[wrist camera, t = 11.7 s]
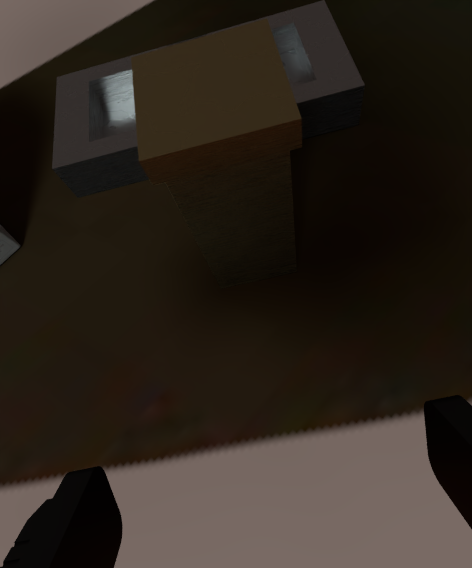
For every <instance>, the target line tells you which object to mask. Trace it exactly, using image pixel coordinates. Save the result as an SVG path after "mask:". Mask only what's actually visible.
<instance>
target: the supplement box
mask: <svg viewBox="0 0 472 568" xmlns="http://www.w3.org/2000/svg"><path fill="white" fill-rule="evenodd" d="M19 248H20V244H19V243H18V242H17V241H16V240H15V239H14V238H13V237H12V236H11V235H10V234H9V233H8V232H7V231H6V230H5V229H4V228H3V227H2V226H1V224H0V265H1V264H2V263H3V262H4V261H5V260H6V259H8V258H9V257H10V256H11V255H12V254H13V253H14V252H15V251H16V250H17V249H19Z"/></svg>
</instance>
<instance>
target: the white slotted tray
mask: <svg viewBox="0 0 472 568" xmlns="http://www.w3.org/2000/svg"><path fill="white" fill-rule="evenodd" d="M266 18H267V20H268V23H269V26H270V28H271V31H272V34H273V37H274V40H275V43H276V46H277V49H278V52H279V55H280V57H281V60H282V63H283V66H284V69H285V72H286V75H287V78H288V81H289V84H290V86H291V89H292V92H293V95H294V98H295V101H296V104H297V107H298V110H299V112H300V115H301V118H302V139H305V138H309V137H313V136H316V135H320V134H324V133H328V132H332V131H336V130H340V129H343V128H347V127H351V126H355V125H359V119H360V113H361V106H362V100H363V93H364V87H365V85H364V82H363V80H362V78H361V76H360V74H359V72H358V70H357V68H356V66H355V64H354V61H353V59H352V57H351V55H350V53H349V51H348V49H347V47H346V45H345V43H344V41H343V38H342V36H341V34H340V32H339V30H338V28H337V26H336V24H335V22H334V20H333V17H332V15H331V13H330V11H329V9H328V7H327V5H326V3H325V1H324V0H322V1H319V2H316V3H312V4H309V5H305V6H302V7H298V8H295V9H291V10H288V11H284V12H281V13H278V14H274V15H271V16H267V17H264V18H260V19H257V20H253V21H250V22H246V23H243V24H240V25H236V26H233V27H229V28H226V29H222V30H219V31H215V32H212V33H208V34H205V35H201V36H198V37H195V38H191V39H188V40H184V41H181V42H177V43H174V44H170V45H167V46H163V47H160V48H157V49H153V50H150V51H146V52H143V53H139V54H136V55H132V56H129V57H125V58H122V59H118V60H115V61H112V62H108V63H105V64H101V65H98V66H94V67H91V68H87V69H84V70H80V71H77V72H74V73H70V74H67V75H63V76H60V77H57V88H56V107H55V126H54V145H53V163H52V169H53V170H54V172H55V173H56V174H57V175H58V176H59V177H60V178H61V179H62V181H63V182H64V183H65V184H66V185H67V186H68V187H69V188H70V189H71V191H72V192H73V193H74V194H75V195H76V196H77V197H82V196H86V195H90V194H93V193H97V192H101V191H105V190H109V189H113V188H117V187H120V186H124V185H128V184H132V183H136V182H140V181H143V180H147V179H149V178H148V176H147V175H146V173H145V171H144V169H143V168H142V166H141V164H140V162H139V157H138V144H137V131H136V117H135V104H134V91H133V77H132V64H131V57H134V56H138V55H141V54H144V53H148V52H151V51H155V50H158V49H162V48H165V47H169V46H172V45H176V44H179V43H183V42H186V41H190V40H193V39H197V38H200V37H204V36H207V35H211V34H214V33H218V32H221V31H225V30H228V29H232V28H235V27H239V26H242V25H245V24H249V23H252V22H256V21H259V20H263V19H266Z"/></svg>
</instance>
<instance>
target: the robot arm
mask: <svg viewBox="0 0 472 568" xmlns="http://www.w3.org/2000/svg"><path fill="white" fill-rule="evenodd" d="M424 416H425V426H426V438H427V449H428V457H429V461H430V464H431V467H432V470H433V472H434V474H435V476H436V478H437V480H438V481H439V483H440V485H441V486H442V487H443V489H444V490H445V492H446V493H447V494H448V496H449V498H450V499H451V500H452V502H453V503H454V505H455V506H456V507H457V509H458V510H459V512H460V513H461V515H462V516H463V517H464V519H465V520H466V522H467V523H468V524H469V526H470V527H471V529H472V406H471V405H470V404H469V403H468V402H467V401H466V400H465V399H464V398H463V397H461V396H459V395H455V396H450V397H445V398H440V399H435V400H430V401H426V402H425V404H424ZM121 539H122V519H121V515H120V511H119V508H118V506H117V503H116V501H115V498H114V495H113V492H112V490H111V487H110V484H109V482H108V479H107V476H106V474H105V471H104V470H103V468H102V467H100V466H97V467H92V468H87V469H82V470H77V471H72V472H69V473H67V474H66V475H65V477H64V478H63V480H62V482H61V484H60V486H59V488H58V490H57V491H56V493H55V495H54V497H53V498H52V499H47V500H46V501H45V502H44V503H43V504H42V505H41V506H40V507H39V508H38V509H37V511H36V512H35V513H34V514H33V515H32V516H31V517H30V518H29V519H28V520H27V522H26V524H25V525H24V527H23V529H22V530H21V532H20V534H19V536H18V538H17V539H16V541H15V545H14V547H12V548H11V549H10V551H9V553H8V555H7V556H6V558H5V560H4V562H3V567H0V568H114V565H115V562H116V558H117V555H118V551H119V548H120V544H121Z"/></svg>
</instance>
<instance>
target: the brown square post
mask: <svg viewBox="0 0 472 568" xmlns="http://www.w3.org/2000/svg"><path fill="white" fill-rule="evenodd" d="M131 64H132V77H133V91H134V104H135V117H136V131H137V144H138V157H139V162H140V164H141V166H142V168H143V169H144V171H145V173H146V175H147V176H148V178H149V180H150V182H151V183H152V185H157V184H161V183H166V185H167V186H168V188H169V190H170V192H171V194H172V196H173V198H174V200H175V202H176V204H177V206H178V208H179V209H180V211H181V213H182V215H183V217H184V219H185V221H186V223H187V225H188V227H189V229H190V231H191V232H192V234H193V236H194V238H195V240H196V242H197V244H198V246H199V248H200V250H201V252H202V254H203V255H204V257H205V259H206V261H207V263H208V265H209V267H210V269H211V271H212V273H213V275H214V277H215V279H216V280H217V282H218V284H219V286H220V288H221V289H223V288H227V287H232V286H236V285H240V284H245V283H249V282H253V281H258V280H262V279H266V278H271V277H275V276H280V275H284V274H288V273H293V272H297V264H296V247H295V230H294V213H293V196H292V179H291V162H290V150H293V149H297V148H301V147H302V118H301V115H300V112H299V110H298V107H297V104H296V101H295V98H294V95H293V92H292V89H291V86H290V84H289V81H288V78H287V75H286V72H285V69H284V66H283V63H282V60H281V57H280V55H279V52H278V49H277V46H276V43H275V40H274V37H273V34H272V31H271V28H270V26H269V23H268V20H267V18H266V19H263V20H259V21H256V22H252V23H249V24H245V25H242V26H239V27H235V28H232V29H228V30H225V31H221V32H218V33H214V34H211V35H207V36H204V37H200V38H197V39H193V40H190V41H186V42H183V43H179V44H176V45H172V46H169V47H165V48H162V49H158V50H155V51H151V52H148V53H144V54H141V55H138V56H134V57H131Z"/></svg>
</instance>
